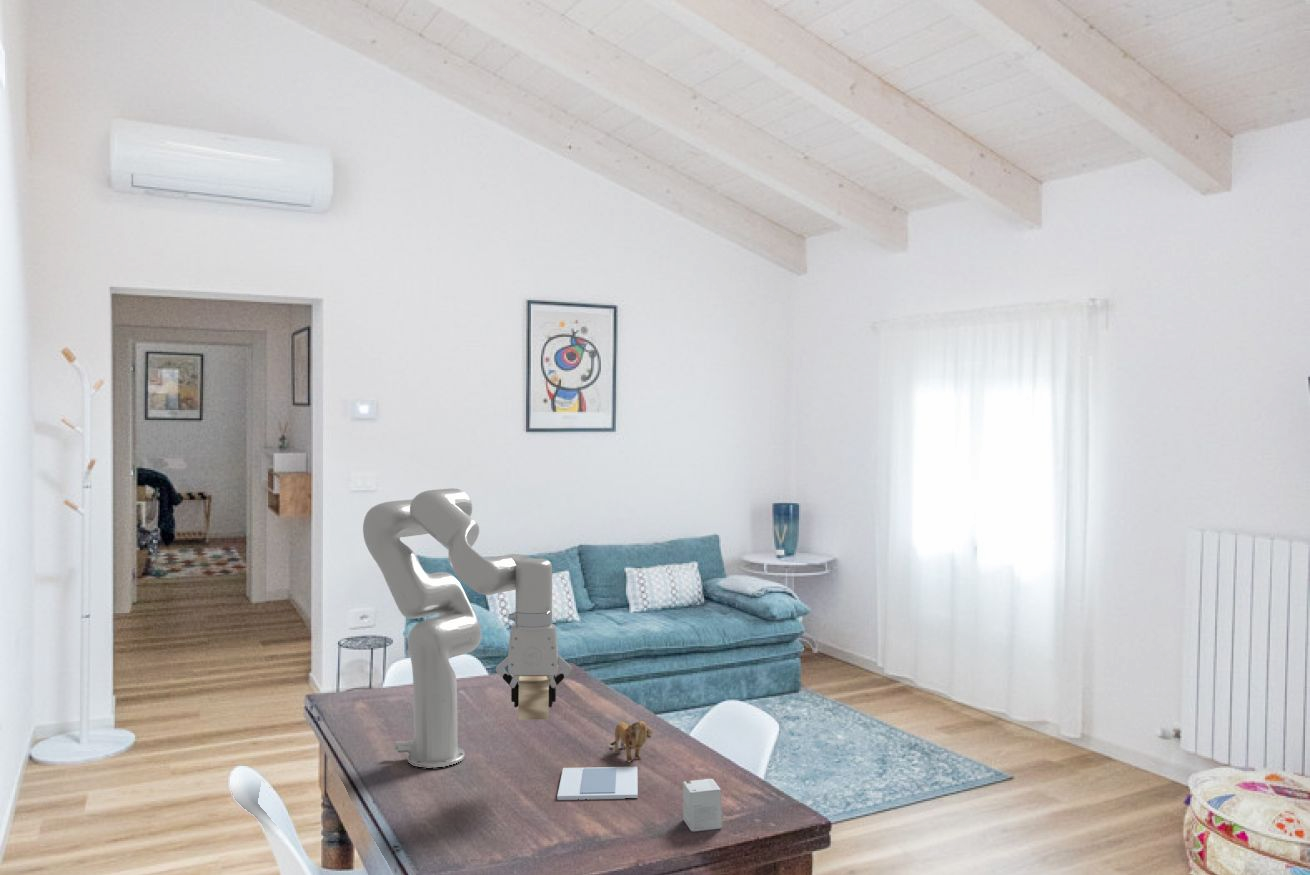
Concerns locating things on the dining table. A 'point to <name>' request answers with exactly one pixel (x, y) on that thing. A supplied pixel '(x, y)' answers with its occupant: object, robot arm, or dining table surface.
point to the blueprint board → (598, 783)
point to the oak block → (533, 697)
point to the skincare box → (702, 805)
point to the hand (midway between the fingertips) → (533, 704)
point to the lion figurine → (631, 737)
